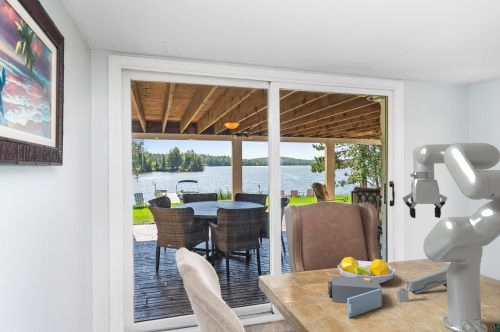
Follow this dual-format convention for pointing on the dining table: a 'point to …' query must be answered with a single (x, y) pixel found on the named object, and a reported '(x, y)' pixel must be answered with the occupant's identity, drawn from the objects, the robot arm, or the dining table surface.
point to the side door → (364, 302)
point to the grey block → (350, 287)
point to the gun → (429, 281)
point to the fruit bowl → (366, 269)
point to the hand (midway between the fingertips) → (425, 217)
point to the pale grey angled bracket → (404, 292)
